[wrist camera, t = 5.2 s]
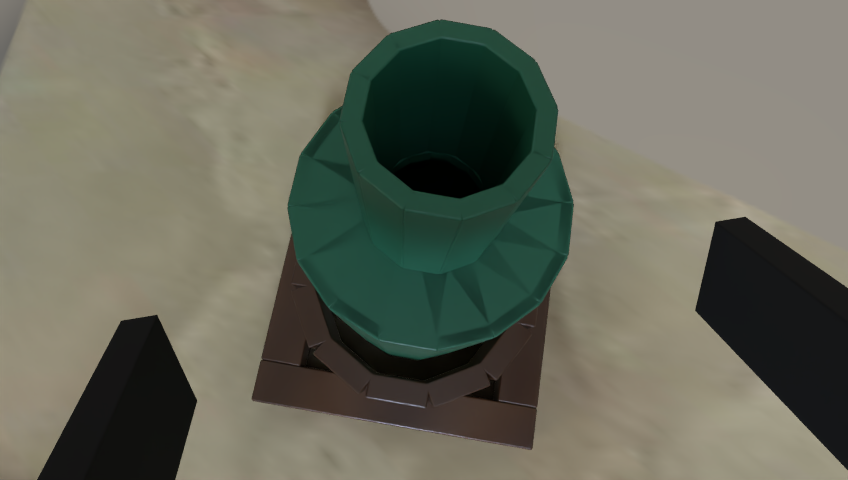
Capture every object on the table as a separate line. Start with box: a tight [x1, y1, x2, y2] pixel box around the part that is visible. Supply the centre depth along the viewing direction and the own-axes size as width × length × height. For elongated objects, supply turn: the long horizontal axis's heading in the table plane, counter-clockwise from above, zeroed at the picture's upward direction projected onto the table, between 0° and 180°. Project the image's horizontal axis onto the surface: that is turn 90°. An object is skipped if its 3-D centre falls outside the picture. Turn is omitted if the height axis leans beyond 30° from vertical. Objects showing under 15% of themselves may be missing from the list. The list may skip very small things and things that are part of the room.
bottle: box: [288, 20, 574, 360], centre depth 17 cm, size 7×7×18 cm
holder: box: [252, 234, 551, 450], centre depth 24 cm, size 13×13×4 cm
